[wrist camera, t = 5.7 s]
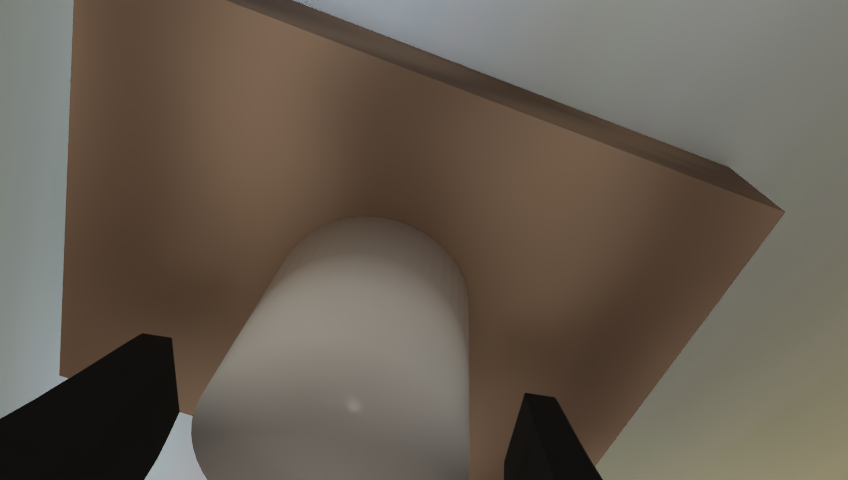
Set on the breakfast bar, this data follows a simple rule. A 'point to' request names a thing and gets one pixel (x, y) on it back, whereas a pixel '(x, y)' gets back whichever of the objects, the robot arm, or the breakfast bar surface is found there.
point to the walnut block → (381, 204)
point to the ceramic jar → (346, 365)
